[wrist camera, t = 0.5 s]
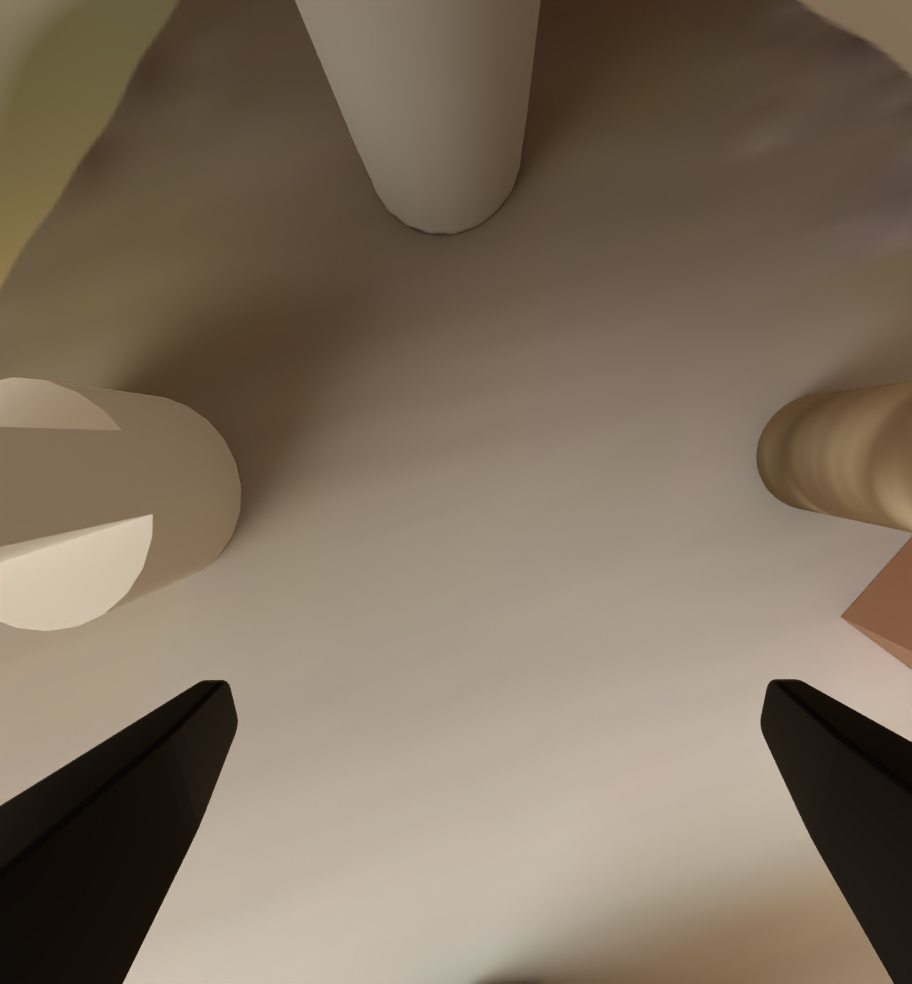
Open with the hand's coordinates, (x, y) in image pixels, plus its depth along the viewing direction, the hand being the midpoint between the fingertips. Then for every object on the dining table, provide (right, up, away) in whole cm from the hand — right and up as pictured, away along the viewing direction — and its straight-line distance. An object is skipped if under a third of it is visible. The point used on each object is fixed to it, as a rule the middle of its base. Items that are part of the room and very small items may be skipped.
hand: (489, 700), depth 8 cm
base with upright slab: (-15, +4, +15) cm, 22 cm away
